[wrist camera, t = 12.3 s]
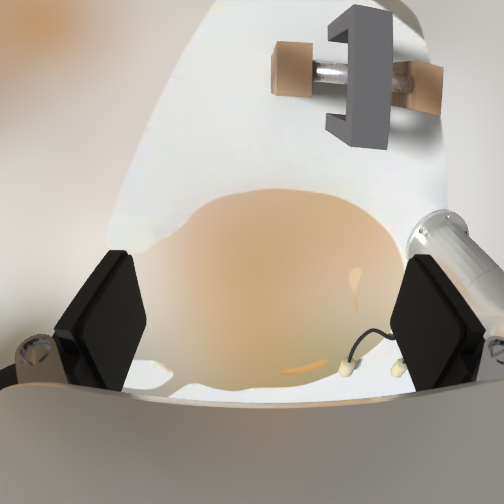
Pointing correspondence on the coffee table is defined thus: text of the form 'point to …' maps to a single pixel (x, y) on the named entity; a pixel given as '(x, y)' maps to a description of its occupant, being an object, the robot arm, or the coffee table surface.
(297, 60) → the hook stand
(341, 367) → the cable
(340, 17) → the grey channel bracket
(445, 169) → the coffee table surface
